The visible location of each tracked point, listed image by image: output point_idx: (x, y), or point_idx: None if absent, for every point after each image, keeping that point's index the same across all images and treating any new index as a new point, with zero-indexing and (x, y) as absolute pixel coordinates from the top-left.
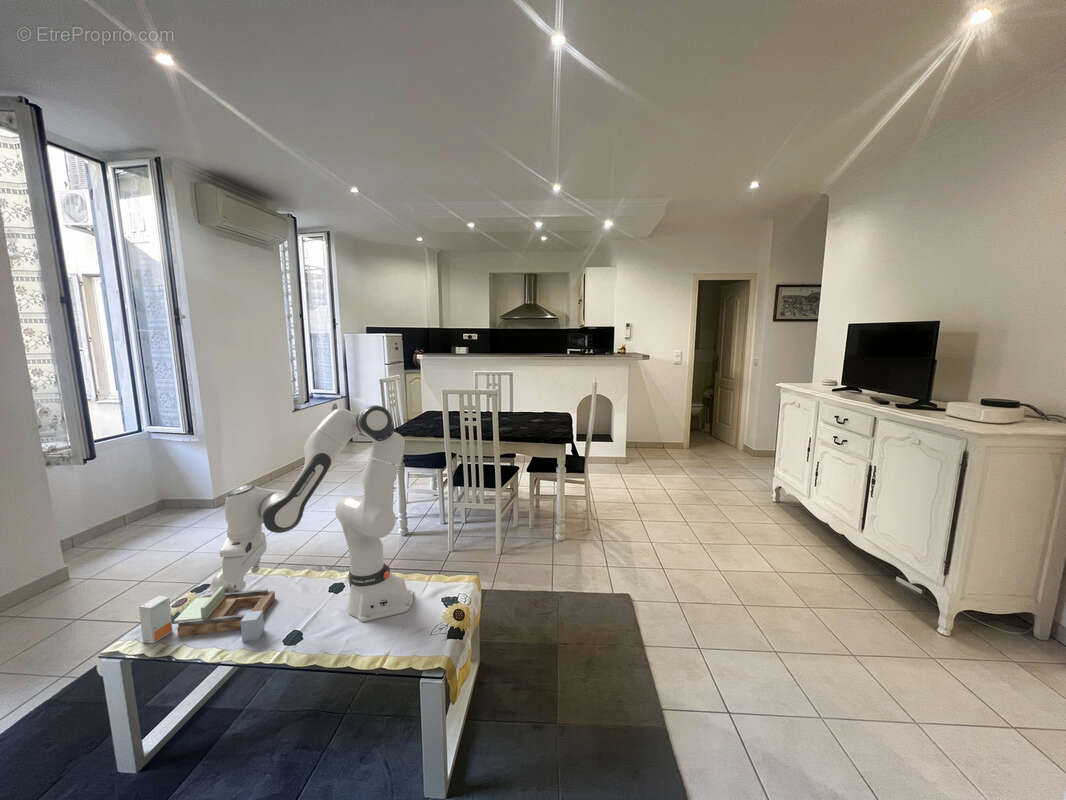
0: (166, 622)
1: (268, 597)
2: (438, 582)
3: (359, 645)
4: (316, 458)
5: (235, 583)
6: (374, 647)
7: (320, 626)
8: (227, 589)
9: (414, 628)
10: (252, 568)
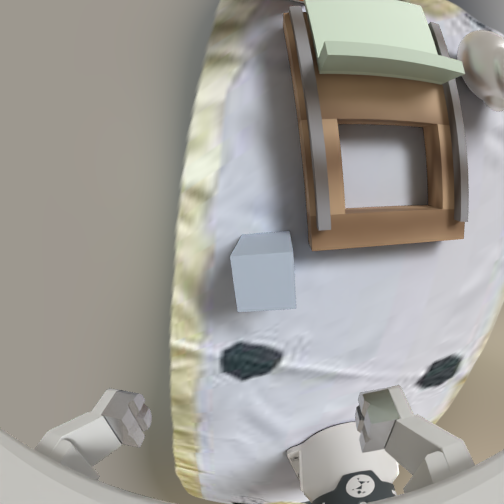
0: None
1: (434, 236)
2: None
3: (219, 452)
4: None
5: (71, 420)
6: (214, 463)
7: (286, 398)
8: (472, 80)
9: (257, 488)
10: (369, 427)
